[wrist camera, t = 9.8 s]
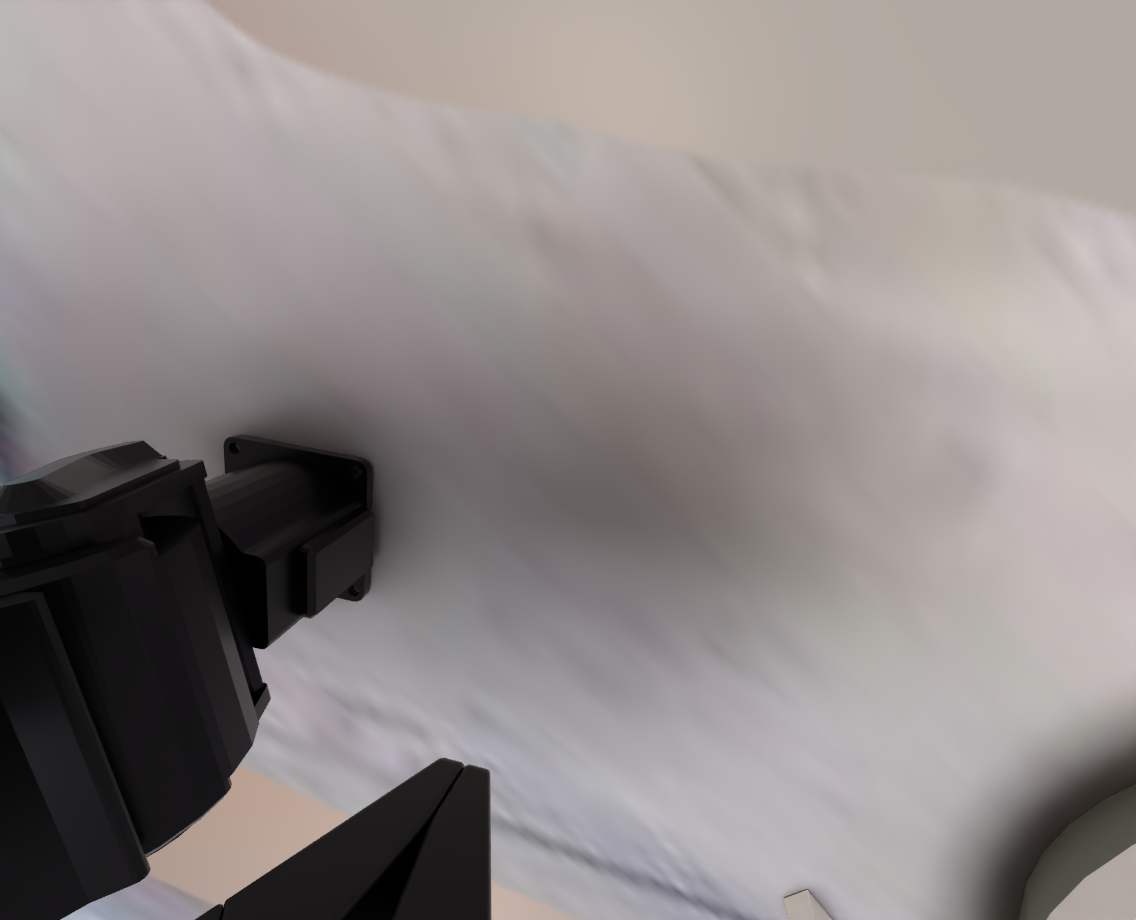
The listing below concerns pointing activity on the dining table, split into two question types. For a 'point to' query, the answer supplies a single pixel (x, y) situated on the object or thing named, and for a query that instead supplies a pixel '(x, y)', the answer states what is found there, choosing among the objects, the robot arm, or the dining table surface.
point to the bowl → (1088, 867)
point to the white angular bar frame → (804, 907)
